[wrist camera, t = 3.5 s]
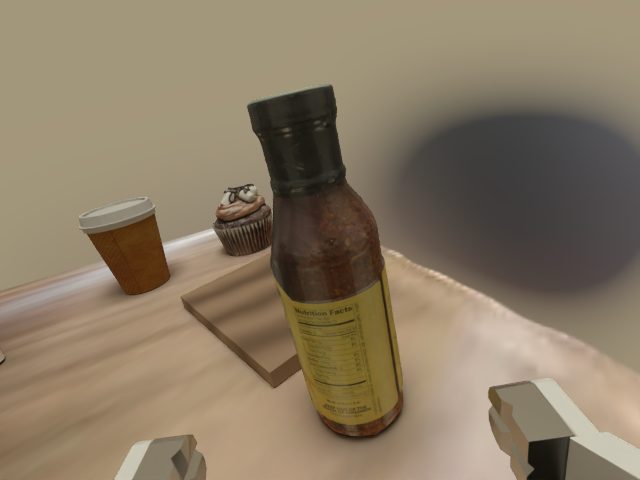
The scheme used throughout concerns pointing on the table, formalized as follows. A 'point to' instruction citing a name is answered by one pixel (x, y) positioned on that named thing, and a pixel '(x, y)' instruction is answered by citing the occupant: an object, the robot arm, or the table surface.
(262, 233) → the cupcake
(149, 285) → the disposable coffee cup
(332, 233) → the sauce bottle
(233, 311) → the walnut board
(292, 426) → the table surface
